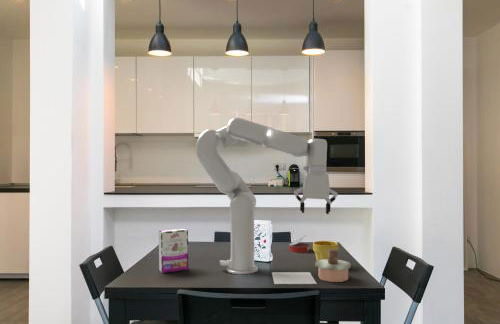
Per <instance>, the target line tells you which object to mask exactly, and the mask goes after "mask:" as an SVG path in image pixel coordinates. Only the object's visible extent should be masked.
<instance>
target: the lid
mask: <svg viewBox="0 0 500 324" xmlns="http://www.w3.org/2000/svg"><path fill="white" fill-rule="evenodd" d="M338 252H339V250H338V251H337V250H336V249H328V259H324V260H318V261H317V260H316V261H315V263H314V266H315V267H317V268H318V267H319V268H322V269H327V270H345V269H348V270H349V269H350V268H351V266H352V264H351V262H349V261H346V260H341V259H339V258H338V257H339V253H338Z"/></svg>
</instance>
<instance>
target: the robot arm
mask: <svg viewBox="0 0 500 324" xmlns="http://www.w3.org/2000/svg"><path fill="white" fill-rule="evenodd" d="M241 141H243V142H246V143H249V144H252V145H254V146H258V147H262V148H265V149H273V150H276V151H280V152H282V153H286V154H289V155H290V156H293V157H295V158H296V157H297V158H301V157H307V160H306V163H307V164H306V166H303V171H306V172H305V173H304V178H303V183H302V184H303V185H302V187H300V188H298V189H296V190H294V191H293V194H294V195H295V198H296V200H297V201H298V202H300V203H299V205H300V207H299V211H300V212H301V214H305V201H306V200H308V199H310V200H325V201H326V203H325V214H327V215H329V214H330V212H331V205H332V203H333V202H334V201H335V200H336V198H337V197H338V196H339V195H338V192H337V191H335V190H333V189H332V188H330V179H329V178H330V176H329V174H328V173H327V160H328V159H327V153H328V142H327V140H326V139H323V138H310V139H305V138H303V137H301V136H300V135H299V136H298V135H295V134H292V133H289V132H286V131H283V130H280V129H275V128H273V127H270V126H267V125H264V124H261V123H257V122H253V121H251V120H247V119H245V118H241V117H233V118H231V119H230V120H229V121H228V123H227V125H226V126H224V127H222V128H220V129H217V130H215V129H212V128H210V129H206V130H204V131H202V132H201V133H200V134H199V136H198V138H197V141H196V144H195V152H196V156H197V159H198V161H199V163H200V164H201V167H203V169H204V170H205V171H206V173H207V175H208V176H209V178H210V179H211V180H212V182H213V183H214V185H215V186H216V188H217V190H218V191H219V192H220V193H222V194H225V195H226V196H227V198H229V200H230V201H229V216H230V217H229V218H230V258H229V259H227V260H221V259H220V260H219V266H222V267H226V271H227V272H228V273H230V274H234V275H236V274H237V275H247V274H254V273H256V272H258V271H259V267H258V266H257V265H255V215H254V213H255V208H256V207H257V199H256V196H255V194H254V193H253V192H252V190H251V188H249V186H248V185H247V184H246V182H245V181H244V179H243V177H242V176H240V174H239V173H238V172H237V171H234V170H232V169H231V168H230V167H229V166H228V164H227V163H226V161H225V160H224V158H223V157H222V156H221V155H220V153H219V152H218V151H221V150H224V149H226V148H228V147H230V146H232V145H234V144H236V143H237V144H238V143H239V142H241ZM301 192H302V197H301V196H299V194H300V193H301ZM330 194H332V197H330Z"/></svg>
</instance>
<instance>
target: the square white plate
mask: <svg viewBox="0 0 500 324" xmlns="http://www.w3.org/2000/svg"><path fill="white" fill-rule="evenodd" d="M271 276H272V279H273V284H274V285H305V284H306V285H317V284H318V283H317V282H316V280H315V278H314V276H312V273H311V272H309V271H308V272H307V271H305V272H304V271H299V272H298V271H297V272H294V271H293V272H291V271H290V272H289V271H288V272H285V271H283V272H282V271H281V272H279V271H278V272H276V271H275V272H274V271H273V272H271Z"/></svg>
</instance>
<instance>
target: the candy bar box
mask: <svg viewBox="0 0 500 324" xmlns="http://www.w3.org/2000/svg"><path fill="white" fill-rule="evenodd" d="M158 269H159V272H160V273H161V274H166V273H168V274H169V273H172V272H173V273H175V272H181V271H182V272H183V271H188V270H189V230H188V229H186V228H175V229H165V230H164V229H163V230H158Z"/></svg>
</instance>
